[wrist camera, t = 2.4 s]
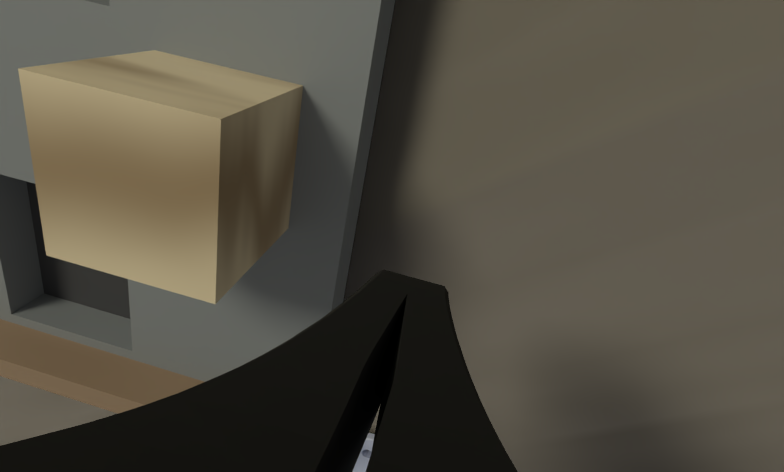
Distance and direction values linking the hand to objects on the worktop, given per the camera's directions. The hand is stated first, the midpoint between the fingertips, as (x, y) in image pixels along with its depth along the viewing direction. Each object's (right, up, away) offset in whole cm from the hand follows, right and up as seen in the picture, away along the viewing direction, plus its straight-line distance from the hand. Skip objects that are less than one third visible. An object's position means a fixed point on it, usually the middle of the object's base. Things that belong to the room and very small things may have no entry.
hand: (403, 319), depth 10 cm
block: (-6, +5, +7) cm, 10 cm away
